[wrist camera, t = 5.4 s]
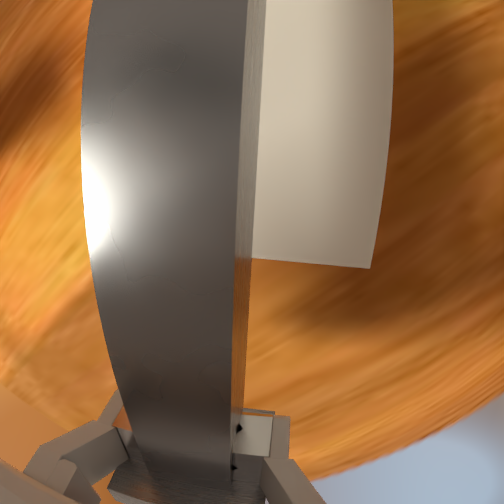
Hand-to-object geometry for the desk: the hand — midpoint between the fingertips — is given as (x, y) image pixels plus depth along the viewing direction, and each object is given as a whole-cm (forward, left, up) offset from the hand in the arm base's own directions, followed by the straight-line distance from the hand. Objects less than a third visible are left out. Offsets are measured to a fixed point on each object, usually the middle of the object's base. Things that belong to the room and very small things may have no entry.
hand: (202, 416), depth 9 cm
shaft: (0, +11, -1) cm, 11 cm away
